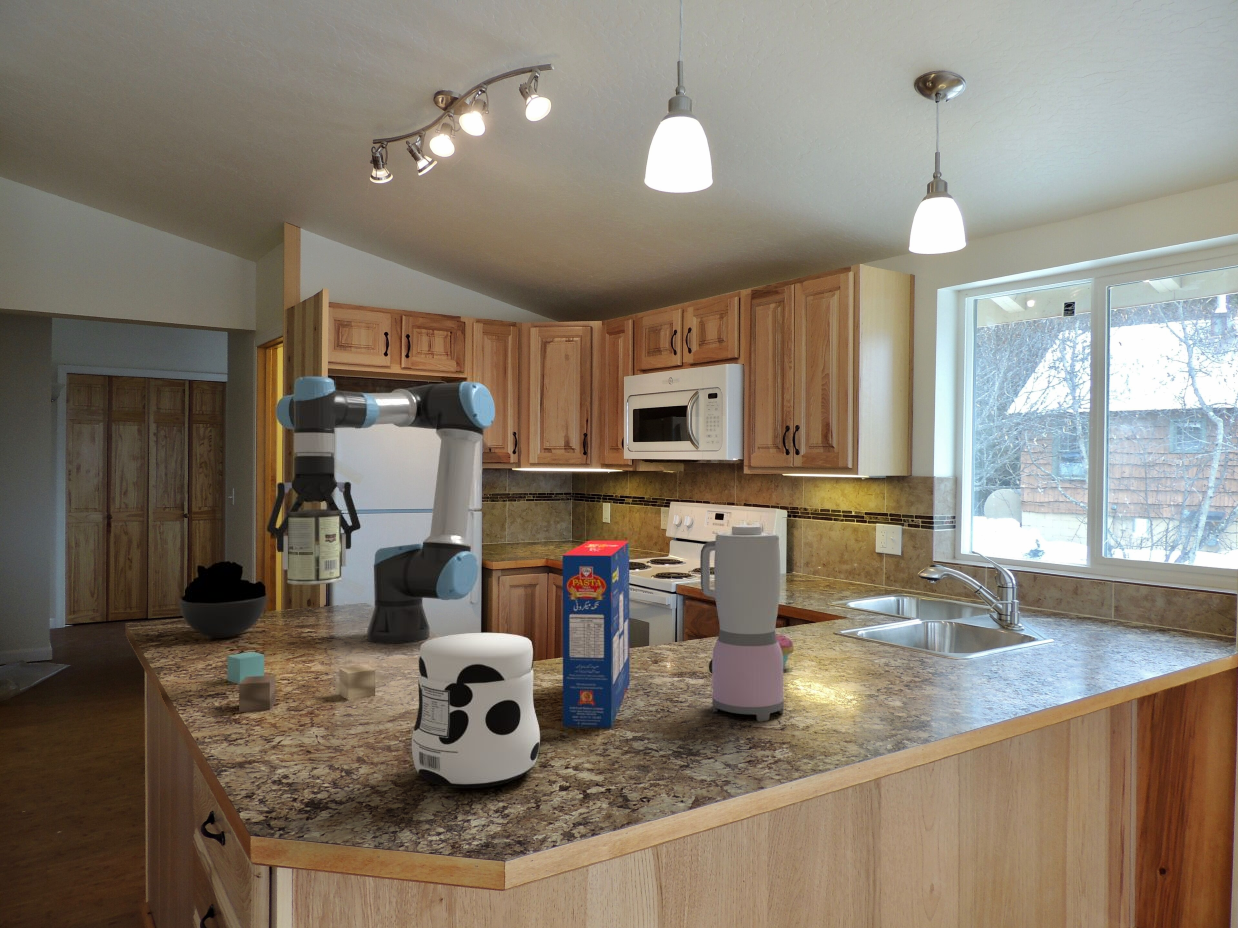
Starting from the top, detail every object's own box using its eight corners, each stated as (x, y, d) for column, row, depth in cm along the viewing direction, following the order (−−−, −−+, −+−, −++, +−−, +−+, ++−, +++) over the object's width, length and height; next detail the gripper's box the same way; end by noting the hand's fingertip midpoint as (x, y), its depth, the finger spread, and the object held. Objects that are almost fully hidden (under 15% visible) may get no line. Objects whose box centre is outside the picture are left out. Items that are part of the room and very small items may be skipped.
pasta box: (589, 682, 163) (588, 540, 163) (629, 683, 162) (629, 540, 162) (562, 726, 135) (562, 555, 135) (611, 727, 134) (611, 555, 134)
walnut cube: (275, 702, 149) (275, 675, 149) (269, 710, 144) (269, 682, 144) (245, 704, 148) (245, 676, 148) (239, 712, 143) (239, 683, 143)
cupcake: (748, 670, 172) (748, 612, 172) (757, 661, 180) (757, 606, 180) (790, 674, 169) (789, 615, 169) (797, 664, 177) (797, 608, 177)
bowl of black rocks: (255, 626, 222) (255, 556, 222) (277, 638, 206) (277, 562, 206) (171, 635, 209) (171, 561, 209) (188, 649, 193) (188, 569, 194)
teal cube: (251, 675, 169) (251, 651, 169) (264, 679, 166) (264, 654, 166) (227, 680, 165) (227, 655, 165) (239, 684, 162) (240, 659, 162)
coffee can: (301, 577, 169) (301, 508, 169) (350, 578, 168) (350, 509, 168) (276, 584, 159) (276, 511, 159) (327, 585, 158) (327, 511, 158)
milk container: (543, 752, 122) (543, 630, 122) (535, 798, 105) (535, 656, 105) (425, 753, 122) (425, 631, 122) (398, 800, 104) (398, 658, 105)
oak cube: (365, 690, 157) (365, 664, 157) (375, 696, 153) (375, 669, 153) (339, 695, 154) (339, 668, 154) (348, 700, 150) (348, 673, 150)
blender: (797, 709, 144) (796, 525, 144) (762, 726, 134) (761, 529, 134) (720, 694, 154) (719, 522, 154) (682, 708, 144) (681, 525, 144)
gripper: (369, 455, 172) (369, 562, 172) (250, 455, 162) (251, 568, 162) (376, 455, 165) (376, 565, 165) (253, 454, 155) (253, 572, 155)
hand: (314, 567), depth 164 cm, fingers closed on coffee can, 10 cm apart
